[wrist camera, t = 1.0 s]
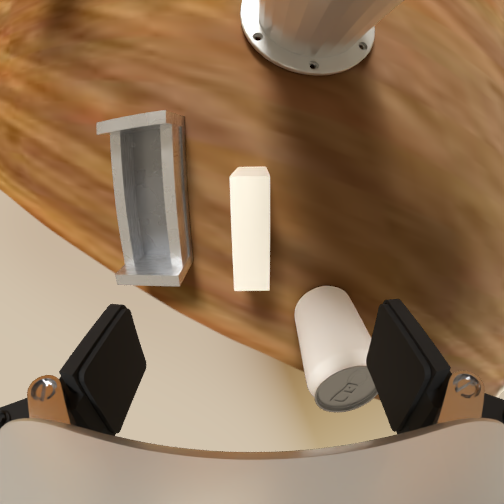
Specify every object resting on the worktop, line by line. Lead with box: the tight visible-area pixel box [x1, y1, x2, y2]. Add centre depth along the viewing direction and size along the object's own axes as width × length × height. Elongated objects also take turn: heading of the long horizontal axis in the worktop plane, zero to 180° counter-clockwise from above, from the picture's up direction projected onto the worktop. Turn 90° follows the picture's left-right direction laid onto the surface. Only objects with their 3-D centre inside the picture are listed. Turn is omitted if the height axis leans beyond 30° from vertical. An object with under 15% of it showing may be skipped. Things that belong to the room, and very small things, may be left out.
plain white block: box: [230, 167, 270, 291], centre depth 22 cm, size 8×3×8 cm, turn 1°
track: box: [97, 110, 193, 286], centre depth 23 cm, size 14×6×6 cm, turn 1°
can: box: [295, 286, 378, 412], centre depth 24 cm, size 6×6×12 cm
